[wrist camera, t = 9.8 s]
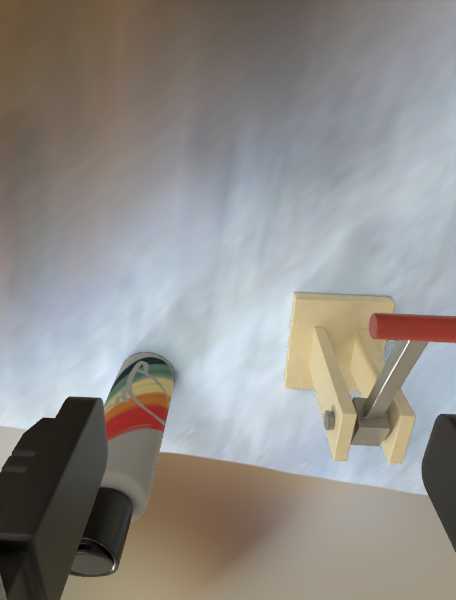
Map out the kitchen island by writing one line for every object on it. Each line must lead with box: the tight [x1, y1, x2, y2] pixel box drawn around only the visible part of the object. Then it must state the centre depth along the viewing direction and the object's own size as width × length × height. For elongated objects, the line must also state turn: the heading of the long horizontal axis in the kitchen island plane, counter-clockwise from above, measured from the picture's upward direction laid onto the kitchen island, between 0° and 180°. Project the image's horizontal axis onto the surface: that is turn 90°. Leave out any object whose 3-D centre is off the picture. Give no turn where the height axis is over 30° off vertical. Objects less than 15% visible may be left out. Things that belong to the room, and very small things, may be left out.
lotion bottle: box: [69, 353, 175, 577], centre depth 35 cm, size 6×6×20 cm
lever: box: [350, 313, 456, 446], centre depth 28 cm, size 13×5×2 cm, turn 177°
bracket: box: [284, 293, 416, 464], centre depth 36 cm, size 10×9×13 cm
